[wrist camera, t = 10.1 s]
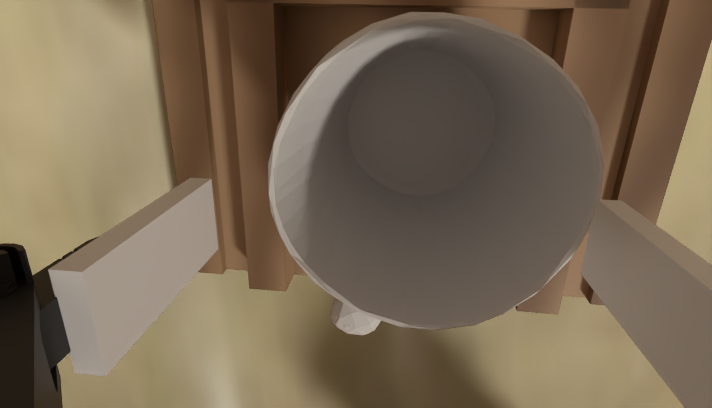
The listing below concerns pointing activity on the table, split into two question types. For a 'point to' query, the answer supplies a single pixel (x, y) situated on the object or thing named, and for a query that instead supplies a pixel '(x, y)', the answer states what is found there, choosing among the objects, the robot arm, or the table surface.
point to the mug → (434, 172)
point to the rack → (376, 3)
